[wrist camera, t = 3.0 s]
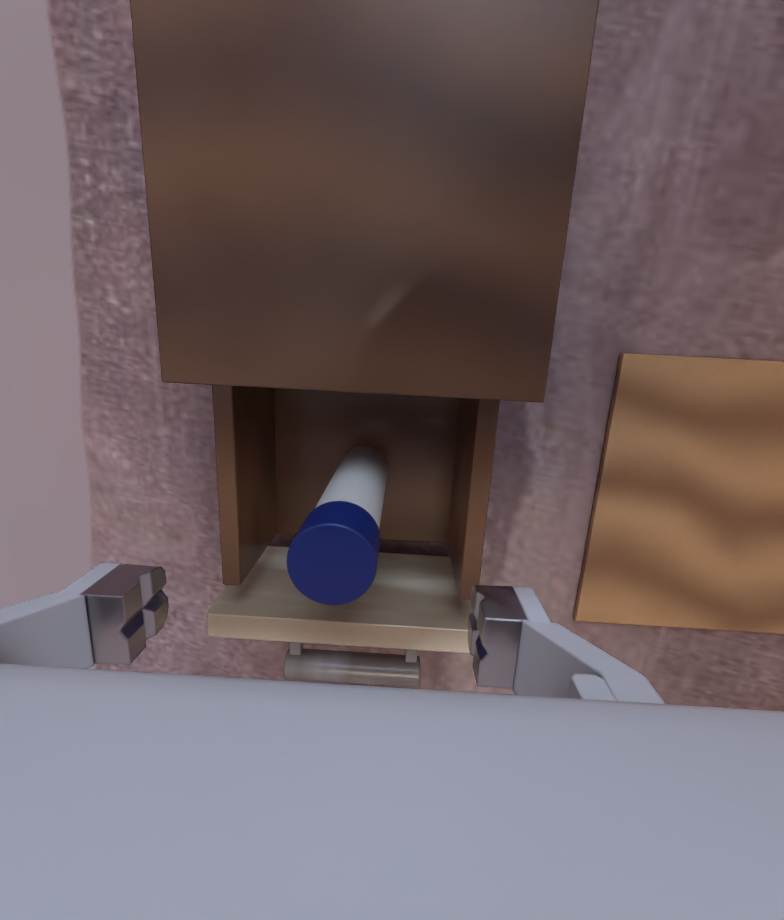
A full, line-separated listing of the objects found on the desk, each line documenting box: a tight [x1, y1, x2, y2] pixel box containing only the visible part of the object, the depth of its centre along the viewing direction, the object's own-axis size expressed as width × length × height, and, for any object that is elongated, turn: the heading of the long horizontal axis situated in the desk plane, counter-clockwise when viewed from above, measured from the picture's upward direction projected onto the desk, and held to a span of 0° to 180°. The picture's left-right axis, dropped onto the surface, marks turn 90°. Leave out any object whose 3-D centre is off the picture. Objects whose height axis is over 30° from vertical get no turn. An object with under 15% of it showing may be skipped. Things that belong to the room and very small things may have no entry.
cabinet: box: [130, 0, 599, 402], centre depth 17 cm, size 18×14×9 cm
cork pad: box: [573, 353, 784, 634], centre depth 25 cm, size 16×14×1 cm
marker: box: [286, 446, 388, 605], centre depth 18 cm, size 3×3×10 cm
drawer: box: [207, 385, 500, 687], centre depth 21 cm, size 21×12×7 cm, turn 177°
